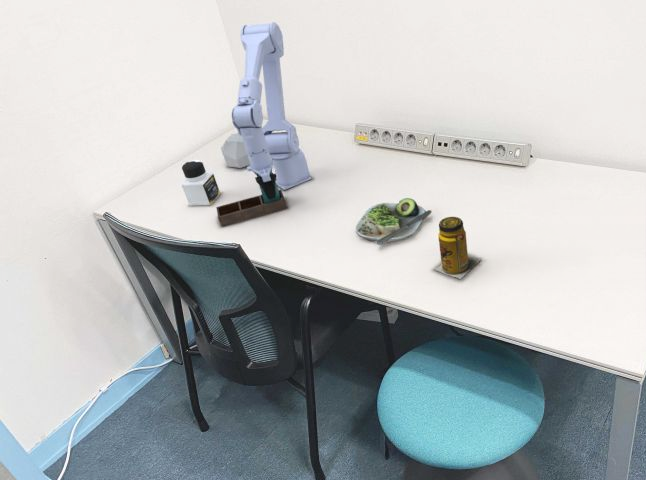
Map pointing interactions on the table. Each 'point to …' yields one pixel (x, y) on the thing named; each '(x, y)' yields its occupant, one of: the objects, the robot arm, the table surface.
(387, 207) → the salad plate
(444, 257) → the condiment
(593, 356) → the table surface
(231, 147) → the rock
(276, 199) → the jar
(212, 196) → the medicine bottle
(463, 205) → the table surface
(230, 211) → the rack
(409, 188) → the table surface
